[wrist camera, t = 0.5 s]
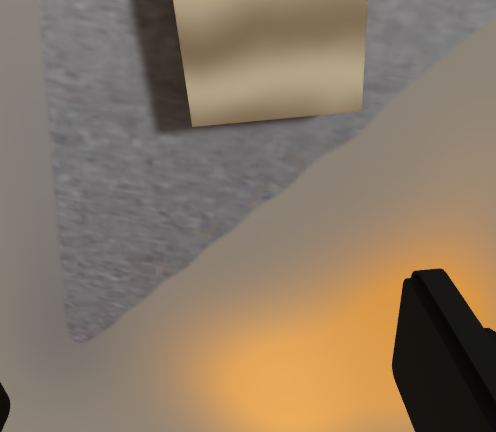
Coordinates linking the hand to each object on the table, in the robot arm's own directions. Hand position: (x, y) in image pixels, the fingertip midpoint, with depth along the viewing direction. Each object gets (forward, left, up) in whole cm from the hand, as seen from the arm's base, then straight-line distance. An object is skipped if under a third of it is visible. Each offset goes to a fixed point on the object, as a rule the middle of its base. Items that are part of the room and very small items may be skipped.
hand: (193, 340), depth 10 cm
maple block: (-2, +4, -27) cm, 28 cm away
